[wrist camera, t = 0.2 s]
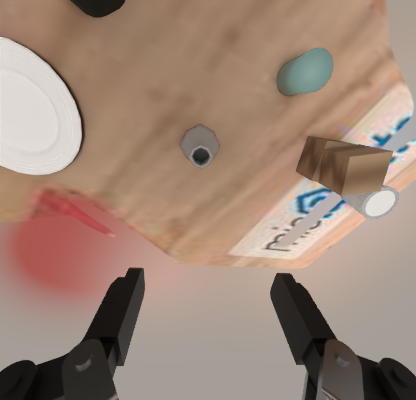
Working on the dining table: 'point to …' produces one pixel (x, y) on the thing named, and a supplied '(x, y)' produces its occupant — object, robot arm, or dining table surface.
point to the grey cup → (373, 202)
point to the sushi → (98, 6)
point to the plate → (35, 114)
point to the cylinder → (305, 73)
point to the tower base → (315, 156)
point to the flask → (200, 145)
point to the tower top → (354, 169)
